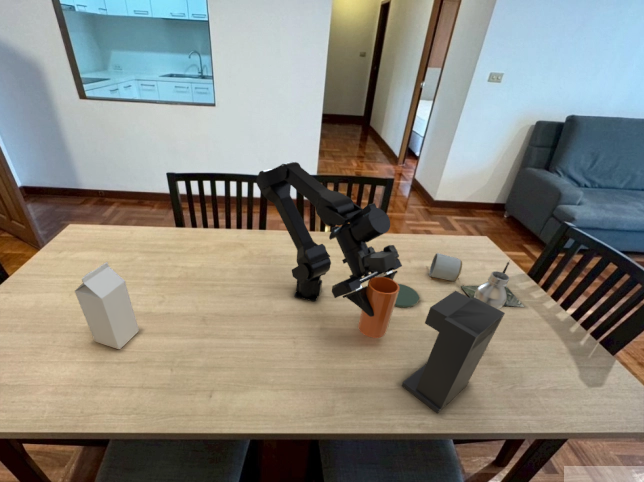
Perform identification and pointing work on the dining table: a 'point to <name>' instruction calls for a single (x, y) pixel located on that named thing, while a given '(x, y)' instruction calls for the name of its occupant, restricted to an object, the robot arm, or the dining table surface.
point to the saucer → (406, 297)
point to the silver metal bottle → (493, 290)
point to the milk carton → (107, 307)
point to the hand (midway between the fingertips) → (382, 310)
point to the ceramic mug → (445, 267)
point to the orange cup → (379, 306)
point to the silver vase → (511, 298)
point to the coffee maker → (453, 348)
